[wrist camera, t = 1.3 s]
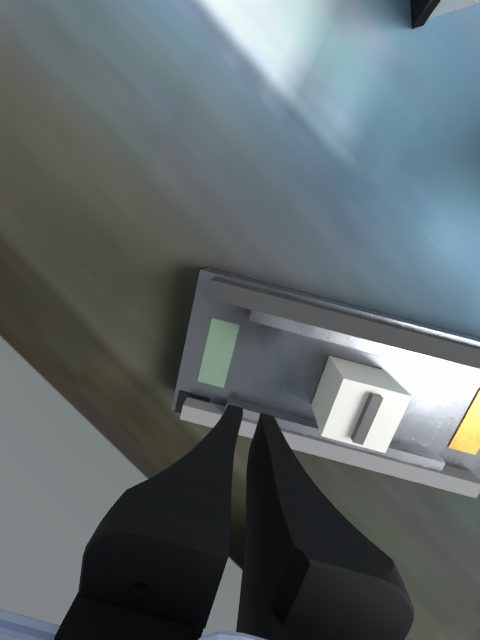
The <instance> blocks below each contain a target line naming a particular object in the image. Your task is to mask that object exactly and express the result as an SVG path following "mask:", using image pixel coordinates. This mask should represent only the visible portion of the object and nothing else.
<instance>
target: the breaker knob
mask: <svg viewBox="0 0 480 640" xmlns="http://www.w3.org/2000/svg"><path fill="white" fill-rule="evenodd" d="M411 398H412V396H411V395H410V394H409V393H408V392H407V391H406V390H405V389H404V388H403V387H402V386H401V385H400V384H399V383H398V382H397V381H396V380H395V379H394V378H393V377H392V376H391V375H390V374H389V373H388V372H386V371H385V370H382V369H378V368H374V367H370V366H366V365H363V364H359V363H355V362H351V361H347V360H343V359H340V358H336V357H332V356H329V357H328V360H327V363H326V366H325V368H324V371H323V374H322V377H321V379H320V382H319V385H318V387H317V390H316V393H315V396H314V398H313V401H312V404H311V406H312V409H313V412H314V415H315V419H316V422H317V425H318V428H319V431H320V434H321V436H323V437H326V438H330V439H334V440H338V441H341V442H345V443H349V444H353V445H356V446H360V447H364V448H368V449H371V450H375V451H379V452H383V453H386V451H387V448H388V446H389V444H390V442H391V440H392V438H393V436H394V434H395V432H396V430H397V427H398V425H399V423H400V421H401V419H402V417H403V415H404V413H405V411H406V409H407V406H408V404H409V402H410V400H411Z"/></svg>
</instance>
